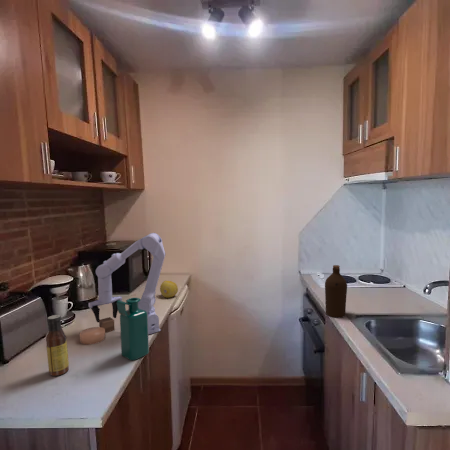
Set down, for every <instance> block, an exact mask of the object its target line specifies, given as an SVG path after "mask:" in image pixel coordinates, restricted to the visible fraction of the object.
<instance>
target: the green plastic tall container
mask: <svg viewBox="0 0 450 450" xmlns="http://www.w3.org/2000/svg"><path fill="white" fill-rule="evenodd" d="M140 300H141V298H140V297H130V298H129V297H128V298H127V299H126V300H125V301H123V300H122V301H120V300H119V301H117V308H118V312H117V313H119V327H120V328H119V329H120V349H121V351H120V353H121V356H122V357H124V358H126V359H128V360H130V361H135V360H138V359H140V358H142V357H145V356H146V355H148V354H149V353H150V349H149V348H150V347H149V346H150V343H149V341H150V340H149V335H148V314H147V312H146V311H145V310H142V309H139V307H138V302H139V301H140ZM126 305H127V306H128V308H127V309H126Z"/></svg>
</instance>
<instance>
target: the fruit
mask: <svg viewBox="0 0 450 450" xmlns="http://www.w3.org/2000/svg"><path fill="white" fill-rule="evenodd" d="M178 291H179V287H178V284H177V283H176V282H175V281H172V280H163V282H161V284H160V287H159V292H160V294H161V295H162V296H163V297H164V298H166V299H169V298H172V297H174V296H176V295H177V293H178Z"/></svg>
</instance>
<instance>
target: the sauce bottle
mask: <svg viewBox="0 0 450 450" xmlns="http://www.w3.org/2000/svg"><path fill="white" fill-rule="evenodd" d="M46 319H47V323H48V332H47V335H46V338H45V341H46V354H47V364H48V365H47V366H48V372H49V375H50V376H52V377H58V376H61V375H64V374H66V373H68V371H69V369H70V368H69V367H70V362H69V352H68V351H69V350H68V342H67V341H68V340H67V336H66V334H65V332H64V329H63V327H62V324H61V320H62V317H61V315H60V314H53V315H51V316H48V317H47V318H46Z"/></svg>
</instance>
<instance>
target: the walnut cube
mask: <svg viewBox="0 0 450 450" xmlns="http://www.w3.org/2000/svg"><path fill="white" fill-rule="evenodd" d="M99 319H100V318H99ZM98 323H99V324H98V327H102V328H104V329H105V334H108V333H110V332H111V333H112V332H115V319H113V317H105V318H102V319H100V321H99V322H98Z"/></svg>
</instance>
